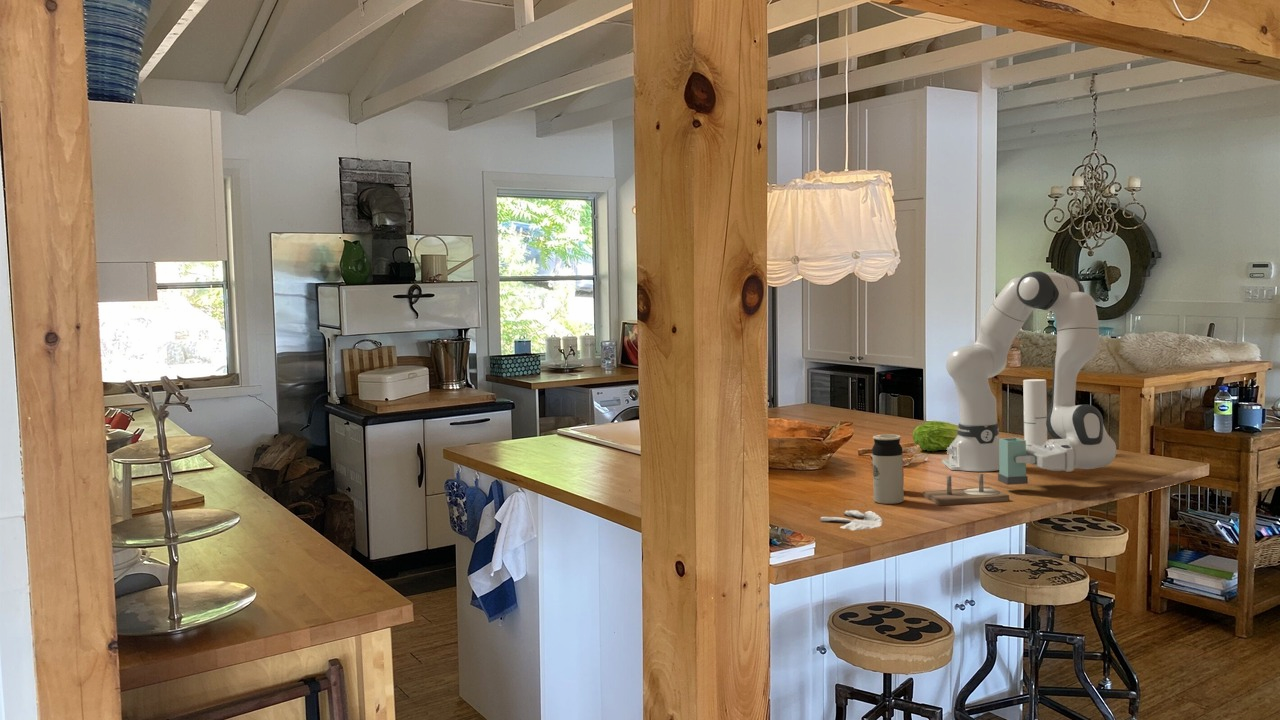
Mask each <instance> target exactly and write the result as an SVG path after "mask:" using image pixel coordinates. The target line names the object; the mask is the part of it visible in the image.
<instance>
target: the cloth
mask: <svg viewBox="0 0 1280 720" xmlns="http://www.w3.org/2000/svg"><path fill="white" fill-rule="evenodd" d="M843 515H844V516H845V517H846V516H847V517H850V518H845V517H838V516H820V518H819V519H820V523H825V522H827V523H837V524H838V523H839V524H840V523H841V524H845V525H841V526H840V527H839V528H840V529H841V530H842V529H843V530H850V531H862V530H871V529H876V528H880V527H882V525H883V520H884V519H882V517H881V516H880V515H879V514H877V513H876V512H873V511H871V510H868V511H865V512H864V513H863V512H860V510H856V509H855V510H854V509H850V510H845V511H844V512H843ZM851 518H856V519H851Z"/></svg>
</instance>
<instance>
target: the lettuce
mask: <svg viewBox="0 0 1280 720" xmlns="http://www.w3.org/2000/svg"><path fill="white" fill-rule="evenodd" d="M958 426H959V425H958V424H955V423H952V422H951V423H950V422H947V421H941V420H940V421H939V420H928V421H926V422H923V423H922V424H919V425H918V426H916V427H915V428H914V430H913V432H912V440H913V443H914V445H915V444H918V445H919V446H920V448H921V449H920V450H922V451H925V450H927V451H926V452H930V451H932V452H937V451H936V450H947V447H949V446H950V444H951V443H952V442H953V441H954V440H955V438H956V437H957V436H958V434H957V432H958Z"/></svg>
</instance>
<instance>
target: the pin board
mask: <svg viewBox="0 0 1280 720" xmlns="http://www.w3.org/2000/svg"><path fill="white" fill-rule="evenodd" d="M952 488H953V487H952V476H951V475H946V489H941V490H940V489H939V490H938V489H937V490H924V491H923V498H926V499H928V500H929V501H931V502H933V503H934V504H936V505H939V506H954V505H956V506H957V505H968V504H969V505H971V503H972V504H984V503H997V502H1010V495H1009V494H1007V493H1004V492H1002V491H999V490H997V489H995V488H992V487H990V486H984V474H983V473H979V474H978V487H970V488H969V487H968V488H954V489H952Z"/></svg>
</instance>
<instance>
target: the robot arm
mask: <svg viewBox="0 0 1280 720" xmlns="http://www.w3.org/2000/svg"><path fill="white" fill-rule="evenodd" d="M1034 309H1035V310H1036V309H1038V310H1043V311H1051V312H1052V313H1053V314H1054V316H1055V318H1056V351H1055V352H1056V353H1055V357H1054V363H1053V364H1054V365H1053V370H1052V371H1053V372H1052V373H1053V374H1052V393H1051V404H1050V409H1049V411H1048V413H1047V420H1046V426H1047V433H1049V435H1050V436H1051V437H1052V438H1051V439H1047V442H1046V443H1045V444H1044V445H1042V446H1039V445H1035V444H1026V456H1014V462H1016V463H1026V464H1027V465H1028V464H1029V465H1032V466H1035V467H1038V468H1040V469H1043V470H1050V471H1053V472H1055V471H1056V472H1057V471H1058V472H1059V471H1060V472H1061V471H1063V472H1067V473H1068V472H1069V473H1070V472H1073V471H1074V470H1075V469H1081V470H1091V469H1099V468H1103V467H1106V466H1109V465H1110V464H1112V463H1113V462H1114V460H1115V458H1116V457H1117V456H1116V455H1117V445H1116V443H1115V441H1114V440H1113V438H1112V437H1111V436H1110V435H1109V434H1108V432H1107V430H1106V427H1105V425H1104V418H1103V415H1102V413H1101V411H1100V410H1099V409H1098V408H1097V407H1096V406H1094V405H1092V404H1085V403H1084V404H1077V405H1076V392H1077V391H1076V390H1077V377H1078V374H1079V373H1080V371H1081V370H1082V369H1083V367H1084V366H1085V365H1086V364H1087V363H1088V362H1089V361H1090V360H1092V359H1093V358H1094V357H1095V356H1096V354H1097V353H1098V349H1099V345H1100V326H1099V325H1100V323H1099V315H1098V310H1097V306H1096V302H1095V299H1094V297H1092V296H1091V295H1090V294H1088V293H1086V292H1085V288H1084V286H1083V284H1082V282H1081V281H1080V280H1078V279H1076V278H1075V277H1073V276H1071V275H1065V274H1061V273H1058V272H1045V271H1039V270H1038V271H1036V270H1035V271H1031V272H1028V273H1026V274H1024V275H1023V276H1018V277H1014V278H1012V279H1010V281H1009V282H1007V283H1006V285H1005V286H1004V287H1003V288H1002V289H1001V291H1000V292H999V293H998V295H997V296H996V297H995V299H994V300H993V302H992V304H991V305H990V307H989V309H988V310H987V311H986V314H985V315H984V317H983V318H982V320H981V321H980V323H979V327H980V328H979V329H980V330H979V333H978V336H977V339H976V341H975V342H974V343H973V344H972V345H967V346H962V347H959V348H957V349H956V350H954V351H952V352H950V354H949V355H948V357H946V361H945V368H946V372H947V374H948V375H949V376H950V377H951V378H952V380H953V382H954V385H955V389H956V393H957V397H958V407H959V423H958V424H957V425H958V432H957V434H958V436H957V437H956V438H955V440H954V441H953V442H952V443H951V444H950V446H949V447H947V451H946V454H947V455H948V457H946V458H943V459H941V463H942V464H943V465H944V466H946V467H947V468H948V469H949V470H952V471H965V472H966V471H967V472H994V471H999V439H1000V437H999V434H1000V432H999V431H1000V427H999V423H998V417H997V416H998V415H997V412H998V411H997V398H996V396H995V395H994V394H993V392H992V390H991V385H990V382H989V379H991V378H994V377H995V376H997V375H999V374H1000V373H1002V372H1003V371H1004V370H1005V368H1006V366H1007V364H1008V358H1007V357H1008V355H1009V352H1010V350H1011V346H1012V345H1013V342H1014V340H1016V339H1015V338H1016V337H1017V335H1018V334H1019V332H1020V331H1021V329H1022V327H1023V326H1024V325H1025V323H1026V321H1027V320H1028V319H1029V316H1030V315H1031V313H1032V312H1033V311H1034Z"/></svg>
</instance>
